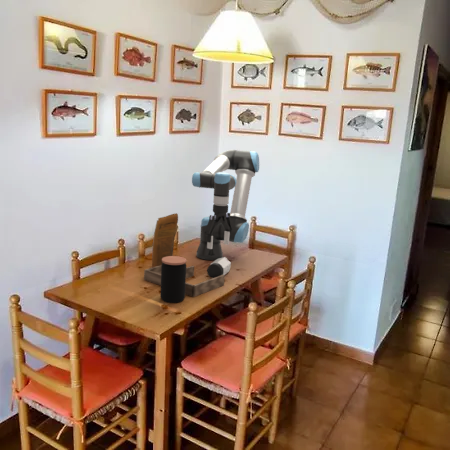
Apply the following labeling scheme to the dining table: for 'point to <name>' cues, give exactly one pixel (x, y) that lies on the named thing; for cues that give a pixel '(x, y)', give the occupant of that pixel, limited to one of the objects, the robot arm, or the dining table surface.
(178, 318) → the dining table surface
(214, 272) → the jar
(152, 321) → the dining table surface
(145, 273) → the lane organizer
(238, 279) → the dining table surface
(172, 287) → the coffee jar
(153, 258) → the pancake mix bag
